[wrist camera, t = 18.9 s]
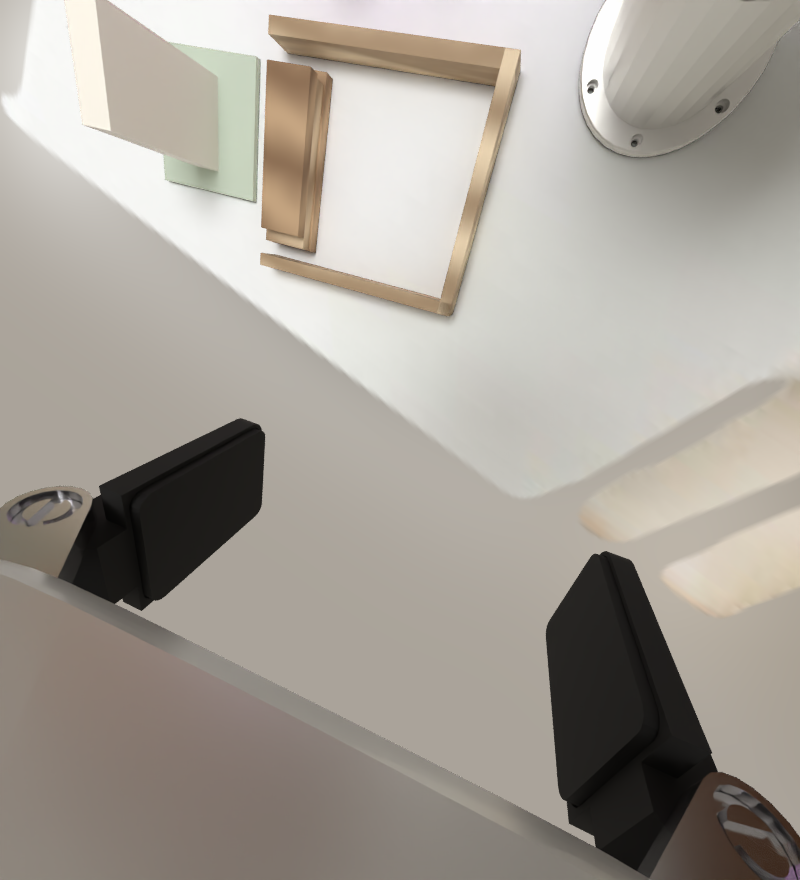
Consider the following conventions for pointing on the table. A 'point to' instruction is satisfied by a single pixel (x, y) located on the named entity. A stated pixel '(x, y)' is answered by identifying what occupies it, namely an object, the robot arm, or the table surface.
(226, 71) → the mat
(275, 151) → the offcut stack
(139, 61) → the cream rectangular block
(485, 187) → the frame
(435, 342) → the table surface
